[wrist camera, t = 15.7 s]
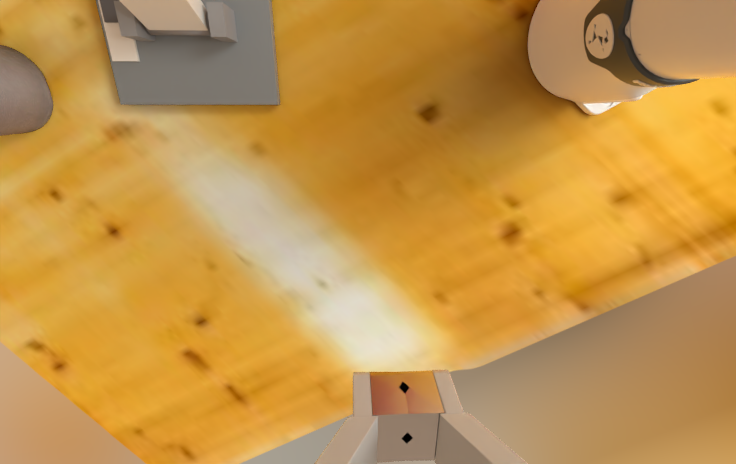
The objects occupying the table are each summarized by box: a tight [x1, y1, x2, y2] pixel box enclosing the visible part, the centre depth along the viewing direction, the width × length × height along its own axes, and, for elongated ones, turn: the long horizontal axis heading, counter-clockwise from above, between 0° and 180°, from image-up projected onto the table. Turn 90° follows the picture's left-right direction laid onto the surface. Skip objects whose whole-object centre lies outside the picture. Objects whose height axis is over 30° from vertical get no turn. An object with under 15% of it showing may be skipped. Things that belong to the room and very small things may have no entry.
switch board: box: [96, 0, 280, 105], centre depth 37 cm, size 16×18×5 cm
